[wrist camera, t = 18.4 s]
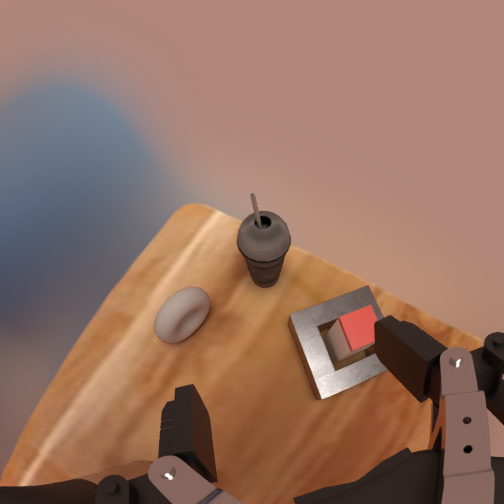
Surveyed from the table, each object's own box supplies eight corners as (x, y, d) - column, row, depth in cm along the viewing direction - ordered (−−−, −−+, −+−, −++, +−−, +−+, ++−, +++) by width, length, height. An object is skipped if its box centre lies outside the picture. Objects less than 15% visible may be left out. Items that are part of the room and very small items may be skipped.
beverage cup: (273, 303, 47) (275, 235, 29) (235, 283, 49) (216, 209, 31) (294, 267, 49) (305, 188, 32) (257, 250, 52) (250, 167, 34)
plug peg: (357, 354, 41) (384, 336, 31) (332, 364, 41) (352, 350, 30) (347, 329, 43) (370, 304, 33) (322, 338, 43) (339, 316, 33)
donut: (204, 297, 48) (190, 270, 39) (219, 310, 46) (207, 286, 38) (163, 339, 44) (138, 321, 36) (177, 353, 43) (154, 339, 34)
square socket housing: (390, 366, 40) (402, 361, 35) (316, 399, 38) (322, 399, 34) (359, 296, 46) (368, 284, 42) (287, 323, 45) (289, 314, 40)
